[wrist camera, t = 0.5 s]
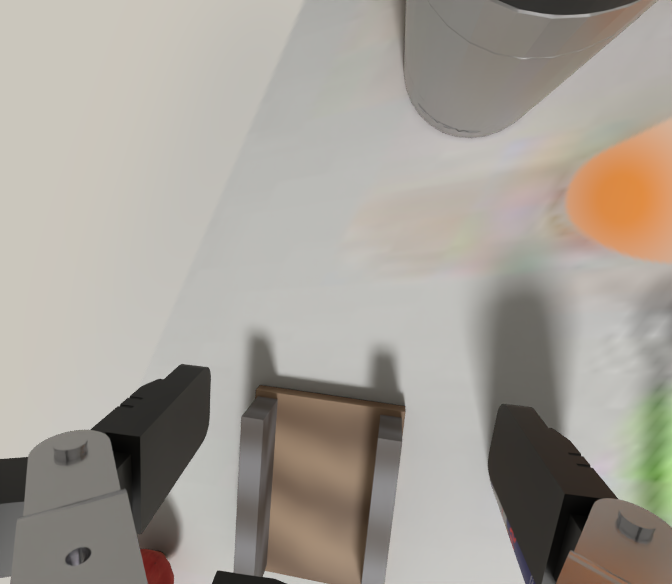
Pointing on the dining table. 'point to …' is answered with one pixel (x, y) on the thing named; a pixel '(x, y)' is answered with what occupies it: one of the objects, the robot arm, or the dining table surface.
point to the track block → (317, 486)
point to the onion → (156, 567)
